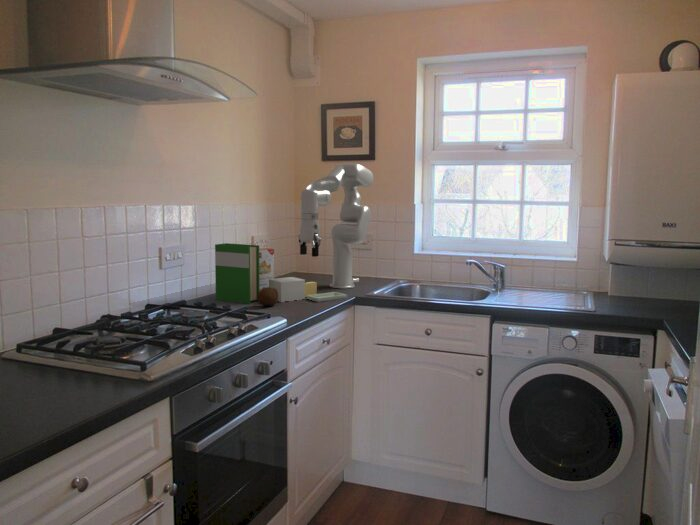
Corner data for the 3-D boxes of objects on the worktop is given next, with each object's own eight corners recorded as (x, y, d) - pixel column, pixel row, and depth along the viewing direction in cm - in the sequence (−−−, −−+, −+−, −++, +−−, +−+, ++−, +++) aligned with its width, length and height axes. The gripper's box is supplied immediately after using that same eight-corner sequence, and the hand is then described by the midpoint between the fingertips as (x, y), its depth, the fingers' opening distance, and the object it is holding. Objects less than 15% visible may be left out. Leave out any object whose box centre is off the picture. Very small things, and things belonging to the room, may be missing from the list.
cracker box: (252, 296, 254) (252, 250, 252) (243, 295, 258) (242, 249, 255) (274, 293, 265) (274, 248, 263) (265, 291, 269) (265, 247, 266)
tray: (335, 295, 260) (335, 291, 260) (346, 298, 254) (347, 294, 253) (306, 299, 250) (306, 295, 250) (317, 302, 244) (317, 298, 244)
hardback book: (259, 300, 245) (259, 245, 243) (249, 303, 239) (248, 246, 236) (226, 296, 253) (226, 243, 250) (215, 299, 247) (215, 244, 244)
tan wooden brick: (312, 295, 261) (313, 281, 260) (316, 296, 258) (316, 282, 258) (290, 298, 253) (290, 283, 252) (294, 299, 251) (294, 284, 250)
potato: (281, 305, 236) (281, 286, 235) (268, 309, 228) (268, 289, 227) (267, 303, 240) (267, 285, 239) (253, 307, 231) (253, 288, 230)
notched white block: (293, 295, 259) (293, 276, 257) (306, 299, 250) (306, 279, 249) (268, 298, 251) (268, 279, 250) (281, 302, 242) (281, 282, 241)
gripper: (327, 218, 249) (326, 256, 251) (306, 216, 263) (305, 253, 265) (313, 218, 245) (312, 257, 247) (292, 216, 259) (292, 254, 261)
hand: (309, 255), depth 256 cm, fingers open, 9 cm apart
